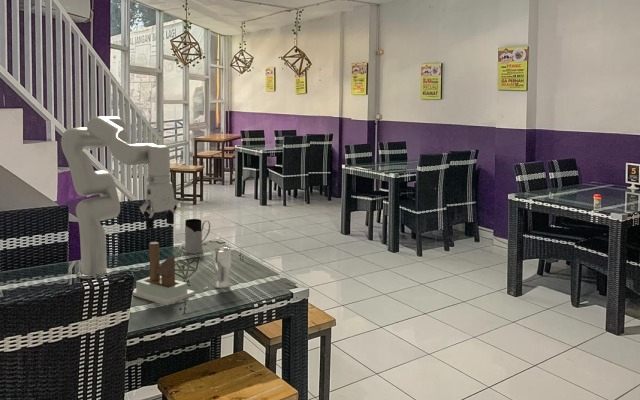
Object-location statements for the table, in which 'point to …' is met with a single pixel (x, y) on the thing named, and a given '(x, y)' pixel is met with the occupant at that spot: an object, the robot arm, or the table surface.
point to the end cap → (162, 291)
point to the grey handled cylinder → (194, 235)
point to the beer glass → (222, 266)
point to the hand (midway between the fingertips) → (160, 226)
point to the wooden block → (161, 267)
